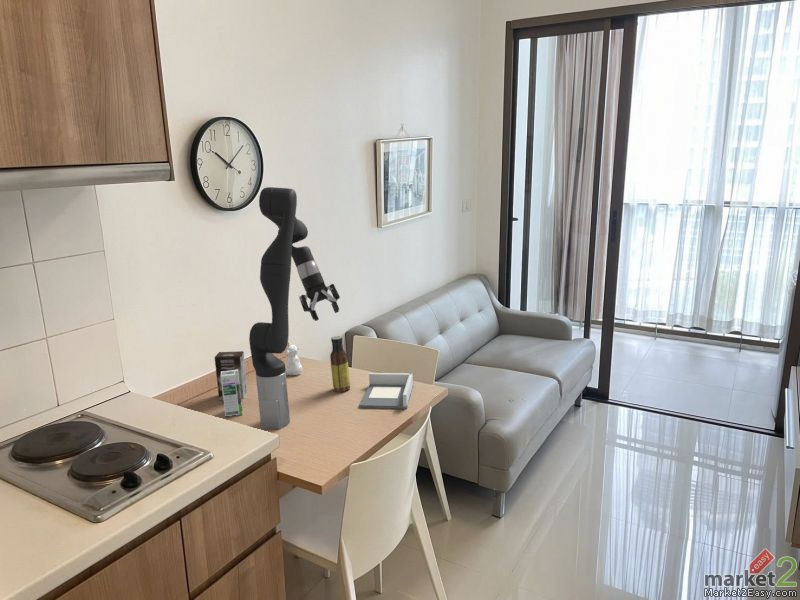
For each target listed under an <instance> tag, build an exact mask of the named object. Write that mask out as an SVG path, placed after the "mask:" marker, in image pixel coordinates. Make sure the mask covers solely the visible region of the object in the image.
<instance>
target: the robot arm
mask: <svg viewBox="0 0 800 600" xmlns="http://www.w3.org/2000/svg"><path fill="white" fill-rule="evenodd" d="M258 197H259V198H258V199H259V200H258V205H259V206H258V207H259V210H260V212H261V214H262V215H263V216H264V217H265V218H266V219H268V220H270V222H272V223H274V224H275V225H276V226H277V228H278V230H277V235H276V237H274V240H273V241H272V242H271V243H270V244H269V246H268V247H267V249H266V250H265V252H264V253H263V254H262V256H261V260H260V271H259V273H260V274H259V281H260V284H261V287H262V289H263V291H264V293H265V295H266V297H267V299H268V302H269V304H270V308H271V322H263V321H262V322H261V321H259V322H256V323H254V324H253V325H252V326H251V328H250V330H249V337H248V338H249V339H248V340H249V348H250V354H251V361H252V366H253V369H254V371H255V377H256V378H255V379H256V389H257V398H258V411H259V418H260V426H261V427H260V428H261V430H262V429H263V430H264V429H265V430H267V429H269V430H280V429H282V428H283V427H286V426H288V425H289V424H290V422H291V417H290V415H291V414H290V405H289V394H288V382H287V375H286V369H285V368H286V364H285V361H283V360H282V359H281V358H279V357H277V356H276V355H275V354H283V353H284V352H285V350H287V346H288V343H289V331H290V330H289V329H290V328H289V296H290V293H289V292H290V284H291V283H290V281H291V273H292V272H291V271H292V259H293V263H294V265H295V268H296V270H297V274H298V277H299V278H300V281H301V283H302V286H303V288H304V289H303V290H304V291H305V294H302V295H299V301H300V304H301V306H302V307H301V308H302V309H303V310H302V311H304V313H305V312H309V314H310V316H311V318H312V320H313V321H314V322H316V321H317V322H318V321H319V319H320V318H319V315H318V314H317V310H316V309H315V307H316V305H317V303H318V302H321V301H322V302H323V301H328V302H329V303H331V306H332V309H333V311H334V313H335V314H337V313H339V310H340V307H339V305H338V303H337V301H338V300H339V299H341V297H340V293H339V292H338V291H337V288H336V285H335V284H334V283H331V284H329V285H328V286H327V285H326V283H325V280H324V278H323V275H322V273H321V271H320V268H319V266H318V264H317V262H316V261H315V258H314V256H313V253H312V252H311V249H310V247H309V246H300V247H299V246H298V247H296V246H294V245H293V244H296V243H298V242H302V241H304V240H305V239H306V238H307V237H308V235H309V233H308V232H309V231H308V227H307V226H306V224H305V223H304V222H303V221H301V220H300V219H298V218H297V217H296V214H297V204H298V198H297V192H296V190H295V189H294V188H289V187H287V188H286V187H271V186H270V187H268V186H267V187H264V188H263V189H261V191H260V193H259V196H258ZM328 291H329V292H330V293H331V294H330V293H328ZM308 299H309V304H308V301H307V300H308Z"/></svg>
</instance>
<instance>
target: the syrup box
mask: <svg viewBox="0 0 800 600" xmlns="http://www.w3.org/2000/svg"><path fill="white" fill-rule="evenodd" d="M221 385H222V393H223V400H222V401H223V406H224V407H223V409H224V417H225V416H229V417H233V416H232V415H236V416H243V413H244V412H243V403H242V399H241V392H240V383H239V374H238V369H236V370H229V371H221Z"/></svg>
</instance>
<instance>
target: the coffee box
mask: <svg viewBox="0 0 800 600" xmlns="http://www.w3.org/2000/svg"><path fill="white" fill-rule="evenodd" d="M245 363H246V362H245V354H244V351H243V350H241V351H240V350H239V351H219V352H217V354H216V355H215V356H214V366H215V373H216V383H217V393H218V401H219V400H222V401H223V393H222V385H221V371H229V370H236V369H238V374H239V383H240V392H241V400H242V399H243V400H244V399H245V398H246V395H247V394H248V387H247V377H246V365H245Z"/></svg>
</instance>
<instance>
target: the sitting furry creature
mask: <svg viewBox="0 0 800 600" xmlns="http://www.w3.org/2000/svg"><path fill="white" fill-rule="evenodd" d="M287 346H288V345H287ZM299 350H301V346H300V345H297V346H296V345H295V344H291V345H289V346H288V348H286V353H285V354H286V355H287V362H286V363H287V364H286V365H287V366H286V367H285V369H286V376H288V375H290V376H291V375H296V376H299V375H301V374H302V373H303V366H302V364H301V362H300V357H299V356H298V355H297V354H298V352H299ZM300 373H301V374H300ZM298 374H299V375H298Z"/></svg>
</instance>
